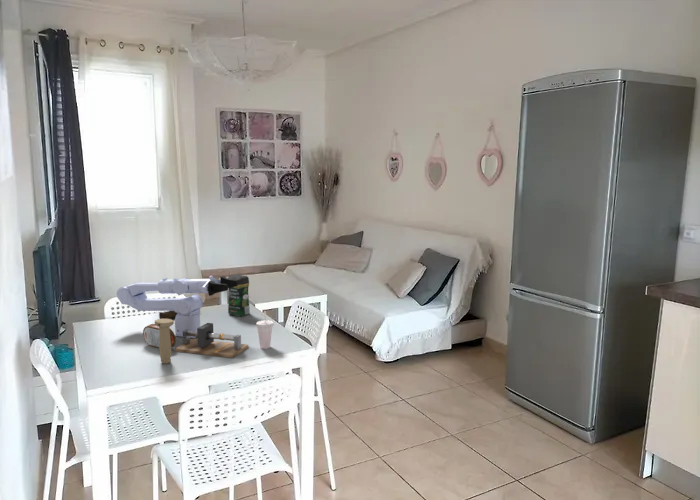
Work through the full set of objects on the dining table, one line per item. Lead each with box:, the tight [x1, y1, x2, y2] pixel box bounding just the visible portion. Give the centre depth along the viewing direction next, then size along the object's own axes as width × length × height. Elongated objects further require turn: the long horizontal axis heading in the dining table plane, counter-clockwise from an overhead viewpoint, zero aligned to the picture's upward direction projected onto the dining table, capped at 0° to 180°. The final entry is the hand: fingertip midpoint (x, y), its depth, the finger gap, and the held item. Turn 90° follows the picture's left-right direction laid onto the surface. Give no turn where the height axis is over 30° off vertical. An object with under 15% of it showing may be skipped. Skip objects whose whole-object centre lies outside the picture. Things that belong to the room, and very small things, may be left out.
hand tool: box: [158, 311, 178, 319], centre depth 243 cm, size 19×4×5 cm, turn 133°
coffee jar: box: [227, 273, 251, 317], centre depth 246 cm, size 10×8×19 cm
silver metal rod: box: [182, 329, 242, 351], centre depth 200 cm, size 23×2×5 cm, turn 74°
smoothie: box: [256, 311, 274, 350], centre depth 202 cm, size 6×6×14 cm
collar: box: [196, 322, 215, 348], centre depth 200 cm, size 2×7×7 cm, turn 164°
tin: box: [142, 323, 177, 349], centre depth 202 cm, size 15×3×8 cm, turn 61°
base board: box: [174, 338, 249, 359], centre depth 201 cm, size 24×12×1 cm, turn 74°
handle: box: [154, 318, 175, 365], centre depth 186 cm, size 5×6×15 cm
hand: (232, 285), depth 209 cm, fingers open, 7 cm apart
